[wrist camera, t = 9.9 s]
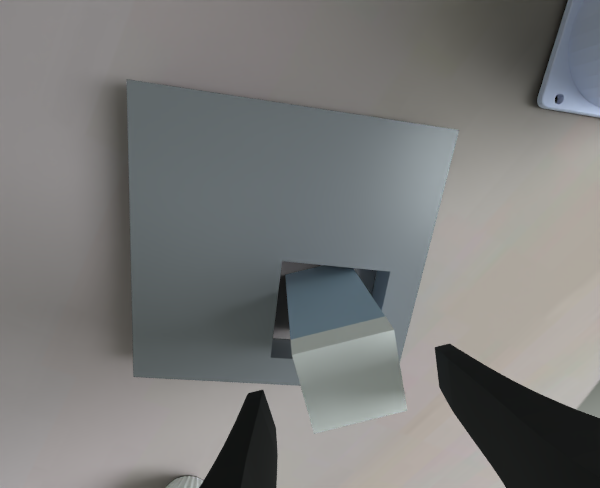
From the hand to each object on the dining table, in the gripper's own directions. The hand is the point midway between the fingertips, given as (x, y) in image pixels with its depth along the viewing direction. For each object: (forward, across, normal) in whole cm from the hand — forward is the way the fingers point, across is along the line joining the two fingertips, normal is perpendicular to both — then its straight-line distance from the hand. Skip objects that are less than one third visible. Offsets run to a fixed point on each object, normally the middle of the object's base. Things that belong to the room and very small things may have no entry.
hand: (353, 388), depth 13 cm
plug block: (+8, 0, 0) cm, 8 cm away
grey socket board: (+8, +2, -4) cm, 9 cm away
